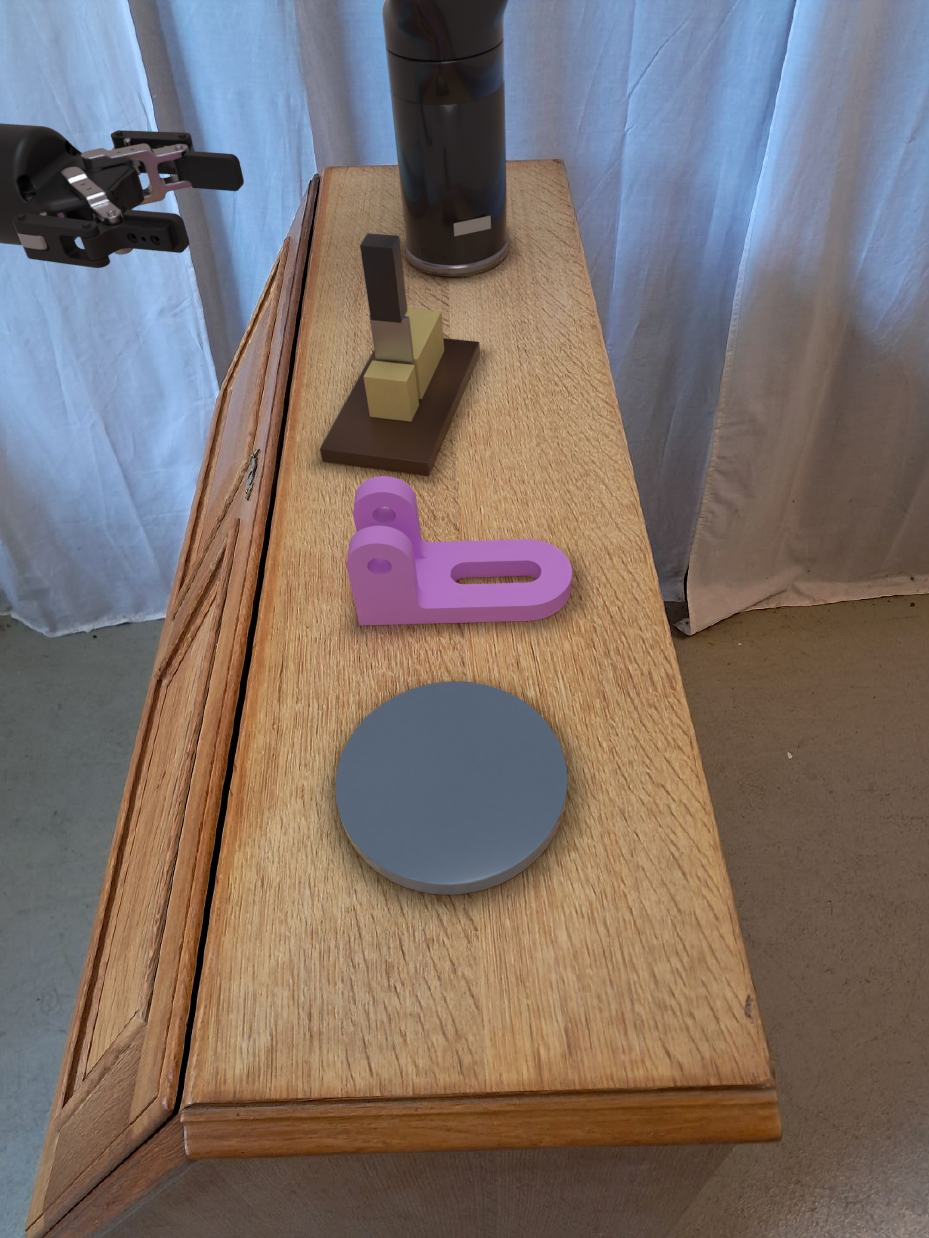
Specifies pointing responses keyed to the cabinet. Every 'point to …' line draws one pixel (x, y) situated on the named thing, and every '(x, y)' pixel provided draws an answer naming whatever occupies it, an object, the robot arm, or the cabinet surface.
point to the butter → (426, 344)
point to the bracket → (443, 568)
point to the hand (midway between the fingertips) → (213, 202)
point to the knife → (387, 298)
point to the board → (400, 440)
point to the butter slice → (391, 390)
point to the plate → (451, 787)
